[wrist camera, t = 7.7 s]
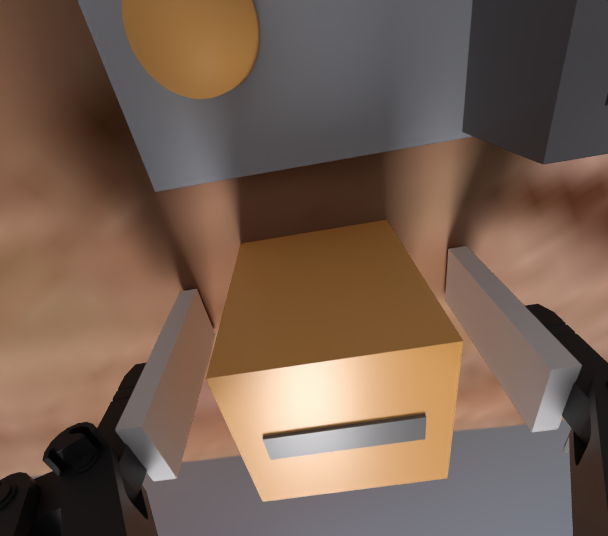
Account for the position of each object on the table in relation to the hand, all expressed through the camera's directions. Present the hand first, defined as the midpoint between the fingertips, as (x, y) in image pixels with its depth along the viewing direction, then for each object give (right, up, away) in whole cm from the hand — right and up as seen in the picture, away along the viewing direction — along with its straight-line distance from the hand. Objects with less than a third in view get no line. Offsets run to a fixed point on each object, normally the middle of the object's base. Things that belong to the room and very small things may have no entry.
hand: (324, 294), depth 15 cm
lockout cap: (0, 0, 0) cm, 0 cm away
